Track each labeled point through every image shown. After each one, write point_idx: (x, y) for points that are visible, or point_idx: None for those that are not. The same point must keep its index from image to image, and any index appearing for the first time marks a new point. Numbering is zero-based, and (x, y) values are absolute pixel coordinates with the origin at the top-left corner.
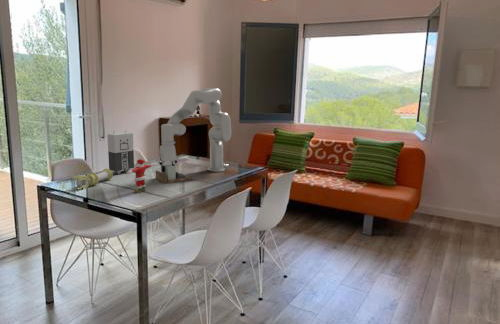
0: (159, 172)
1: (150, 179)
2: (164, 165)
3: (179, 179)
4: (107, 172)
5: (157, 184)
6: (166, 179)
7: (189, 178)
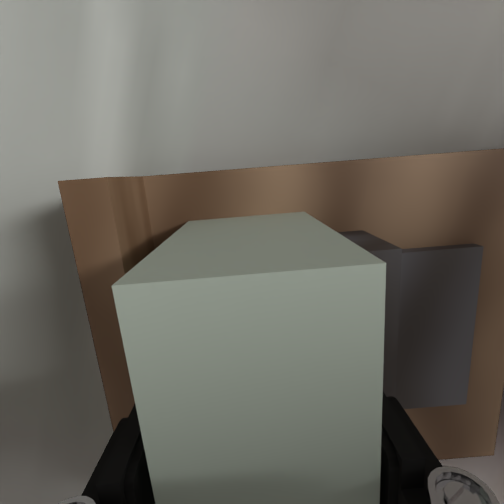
0: (110, 354)
1: (41, 220)
2: (170, 500)
3: None
4: None
5: (94, 463)
6: None
7: (470, 454)
